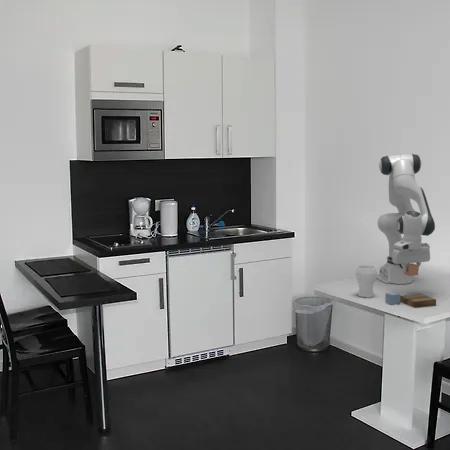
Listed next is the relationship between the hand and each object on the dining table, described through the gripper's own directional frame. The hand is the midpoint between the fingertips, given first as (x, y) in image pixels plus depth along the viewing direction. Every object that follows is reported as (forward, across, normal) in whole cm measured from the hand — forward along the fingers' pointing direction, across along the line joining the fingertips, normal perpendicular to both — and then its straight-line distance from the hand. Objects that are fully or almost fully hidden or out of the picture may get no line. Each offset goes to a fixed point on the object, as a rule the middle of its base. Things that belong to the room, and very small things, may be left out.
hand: (410, 271), depth 310 cm
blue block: (+14, +13, +5) cm, 20 cm away
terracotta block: (+2, 0, 0) cm, 2 cm away
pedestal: (+14, +2, +10) cm, 17 cm away
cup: (+14, +17, -13) cm, 26 cm away
